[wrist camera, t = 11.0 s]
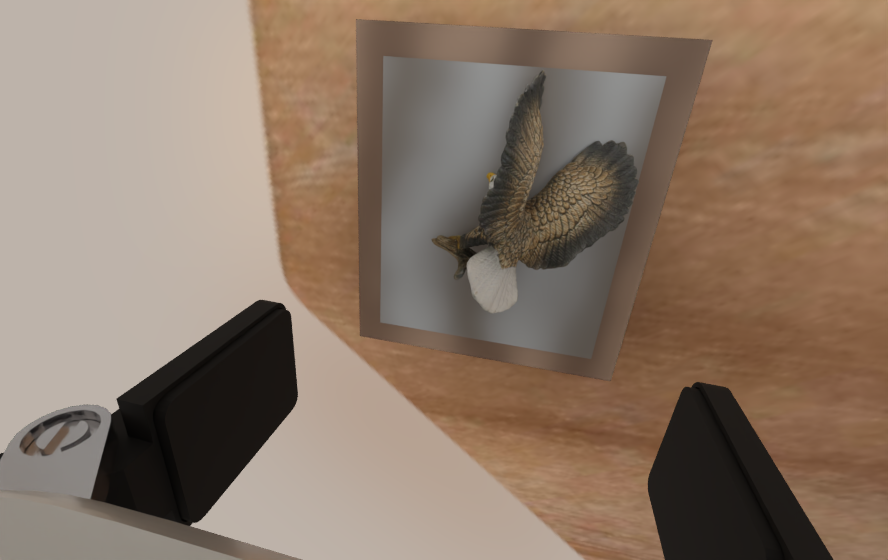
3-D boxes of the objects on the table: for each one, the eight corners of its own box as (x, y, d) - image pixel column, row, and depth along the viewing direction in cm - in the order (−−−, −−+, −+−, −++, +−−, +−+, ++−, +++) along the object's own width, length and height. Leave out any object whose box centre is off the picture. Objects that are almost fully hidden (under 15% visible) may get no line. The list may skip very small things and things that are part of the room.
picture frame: (691, 46, 20) (715, 39, 18) (604, 356, 28) (611, 384, 25) (375, 26, 23) (353, 18, 20) (374, 316, 30) (358, 338, 28)
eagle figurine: (482, 232, 26) (604, 117, 21) (535, 332, 22) (694, 220, 18) (384, 198, 20) (518, 34, 16) (433, 323, 17) (624, 159, 12)
